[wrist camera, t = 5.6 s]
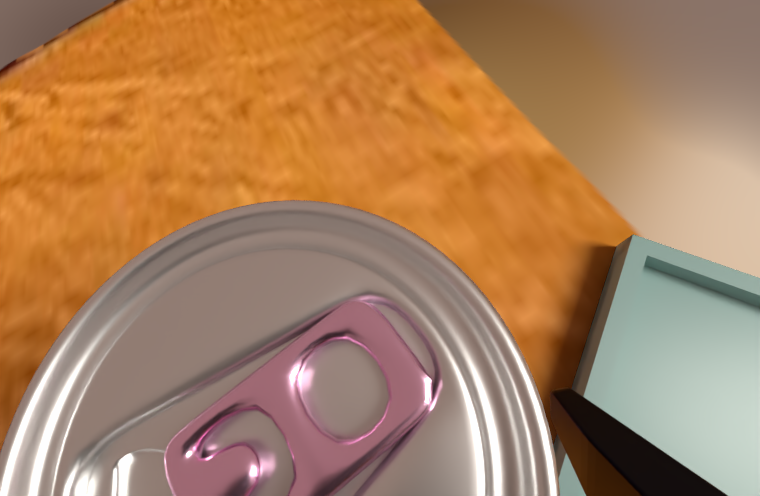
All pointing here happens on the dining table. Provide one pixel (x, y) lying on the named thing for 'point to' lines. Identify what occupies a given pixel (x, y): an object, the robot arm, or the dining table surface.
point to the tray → (677, 363)
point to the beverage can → (283, 372)
